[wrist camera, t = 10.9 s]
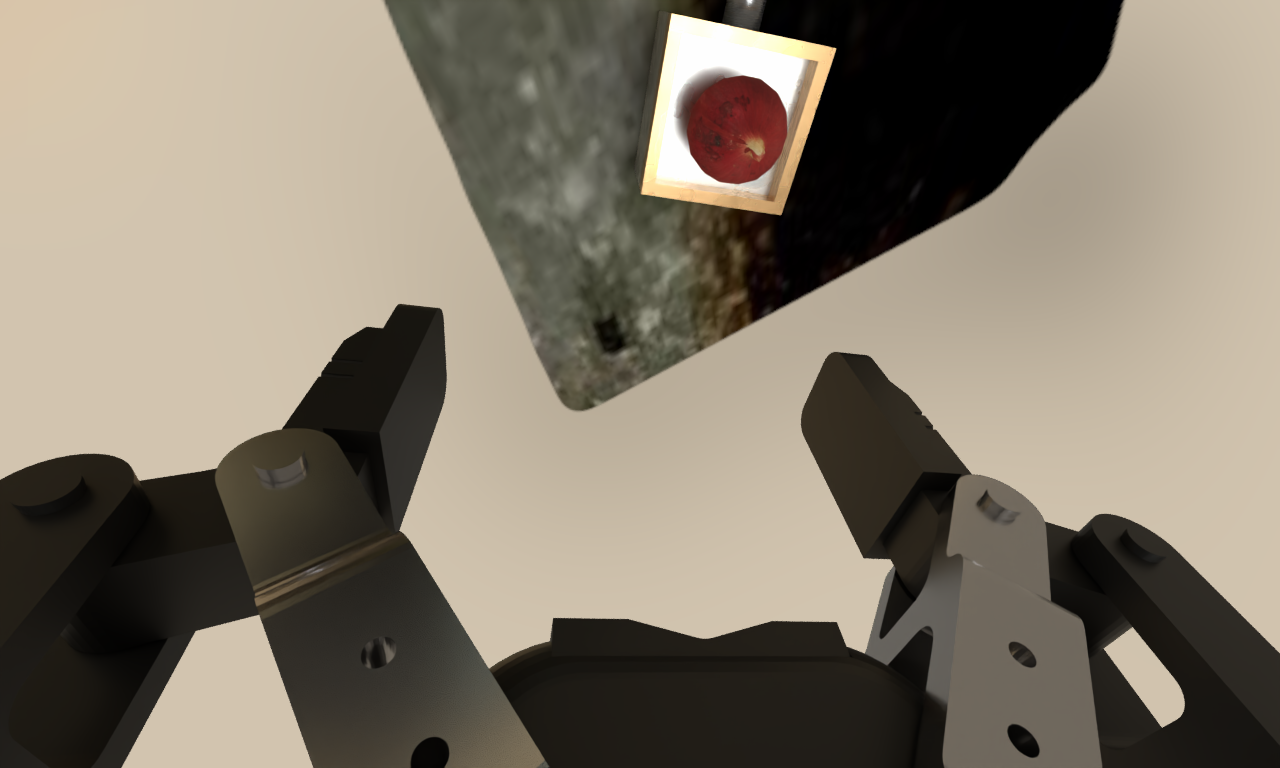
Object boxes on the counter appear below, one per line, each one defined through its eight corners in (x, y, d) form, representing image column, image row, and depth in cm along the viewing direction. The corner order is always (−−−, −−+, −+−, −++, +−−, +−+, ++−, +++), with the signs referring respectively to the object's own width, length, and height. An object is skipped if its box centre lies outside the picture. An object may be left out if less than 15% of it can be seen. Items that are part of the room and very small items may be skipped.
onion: (670, 158, 35) (690, 195, 29) (690, 60, 32) (716, 76, 26) (752, 172, 36) (788, 210, 30) (779, 78, 33) (826, 98, 27)
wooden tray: (668, -48, 33) (683, -56, 28) (816, -13, 34) (857, -15, 29) (634, 168, 40) (641, 193, 35) (757, 187, 42) (781, 215, 37)
